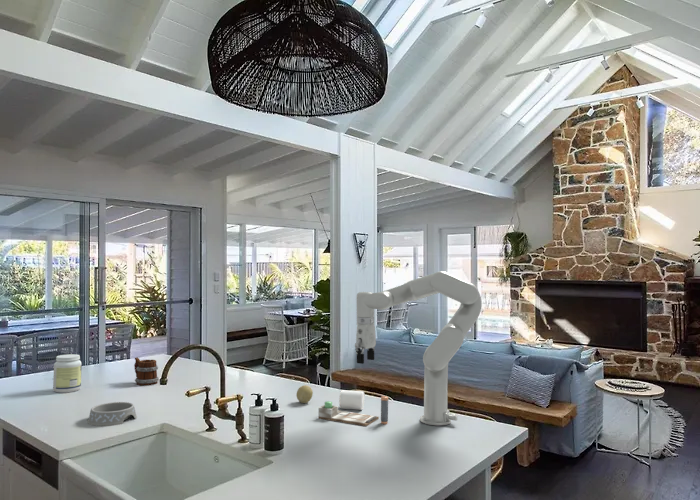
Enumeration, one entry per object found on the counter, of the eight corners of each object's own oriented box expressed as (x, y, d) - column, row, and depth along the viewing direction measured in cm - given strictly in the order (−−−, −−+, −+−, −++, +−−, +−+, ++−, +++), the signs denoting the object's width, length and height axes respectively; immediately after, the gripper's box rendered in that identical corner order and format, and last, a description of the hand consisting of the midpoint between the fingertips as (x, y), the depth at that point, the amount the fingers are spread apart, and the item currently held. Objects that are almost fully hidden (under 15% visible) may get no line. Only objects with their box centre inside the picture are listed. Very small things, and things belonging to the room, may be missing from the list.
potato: (313, 401, 246) (314, 383, 246) (310, 405, 238) (311, 387, 238) (297, 400, 247) (298, 383, 247) (294, 404, 239) (294, 387, 239)
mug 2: (361, 412, 229) (361, 393, 229) (339, 410, 231) (339, 392, 231) (366, 405, 240) (366, 387, 241) (344, 403, 242) (345, 386, 243)
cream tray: (378, 418, 219) (378, 408, 219) (366, 426, 208) (366, 415, 208) (332, 411, 229) (332, 401, 229) (318, 418, 218) (318, 407, 218)
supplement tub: (86, 389, 262) (87, 355, 262) (61, 394, 252) (62, 359, 252) (72, 386, 268) (73, 353, 269) (47, 390, 258) (49, 356, 259)
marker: (389, 422, 214) (389, 396, 214) (386, 424, 211) (386, 398, 211) (382, 421, 215) (382, 395, 215) (379, 423, 212) (379, 397, 213)
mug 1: (147, 386, 269) (144, 357, 270) (127, 388, 275) (125, 359, 277) (164, 382, 279) (161, 353, 281) (145, 383, 285) (143, 356, 287)
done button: (333, 409, 220) (333, 402, 220) (329, 411, 217) (329, 403, 218) (326, 408, 222) (326, 401, 222) (323, 410, 219) (323, 402, 219)
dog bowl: (77, 423, 208) (78, 410, 208) (113, 411, 225) (113, 399, 225) (111, 428, 202) (112, 414, 202) (145, 416, 219) (145, 403, 219)
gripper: (364, 323, 214) (364, 365, 214) (382, 319, 230) (382, 359, 229) (347, 322, 218) (348, 364, 217) (366, 318, 233) (366, 357, 233)
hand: (365, 361), depth 223 cm, fingers open, 9 cm apart
